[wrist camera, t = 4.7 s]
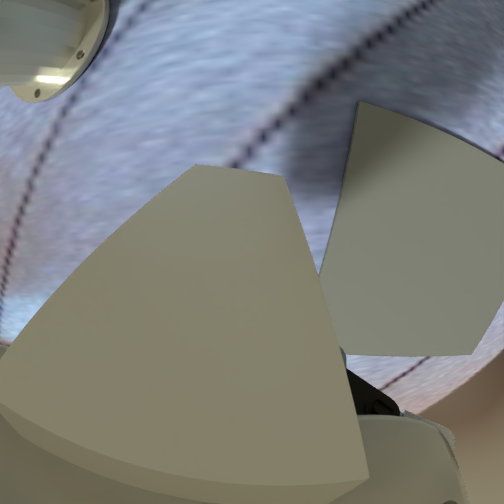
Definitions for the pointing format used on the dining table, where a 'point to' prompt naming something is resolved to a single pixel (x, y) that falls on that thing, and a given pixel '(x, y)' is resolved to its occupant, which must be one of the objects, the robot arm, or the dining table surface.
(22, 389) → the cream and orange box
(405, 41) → the dining table surface
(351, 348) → the mat
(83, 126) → the dining table surface
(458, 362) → the dining table surface
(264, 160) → the dining table surface
